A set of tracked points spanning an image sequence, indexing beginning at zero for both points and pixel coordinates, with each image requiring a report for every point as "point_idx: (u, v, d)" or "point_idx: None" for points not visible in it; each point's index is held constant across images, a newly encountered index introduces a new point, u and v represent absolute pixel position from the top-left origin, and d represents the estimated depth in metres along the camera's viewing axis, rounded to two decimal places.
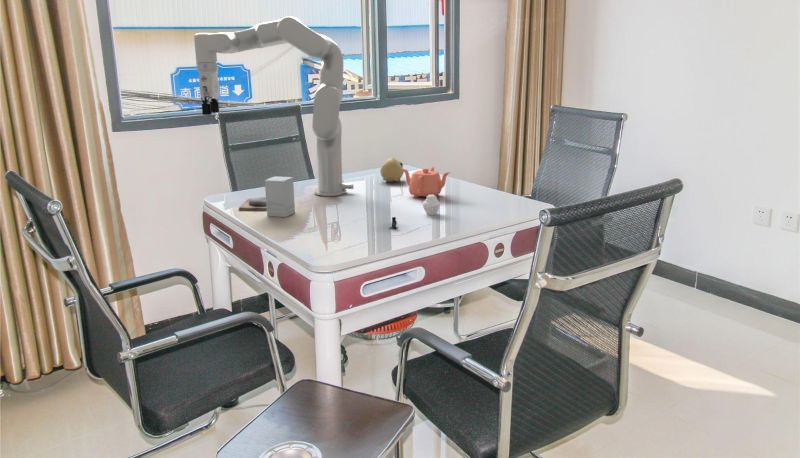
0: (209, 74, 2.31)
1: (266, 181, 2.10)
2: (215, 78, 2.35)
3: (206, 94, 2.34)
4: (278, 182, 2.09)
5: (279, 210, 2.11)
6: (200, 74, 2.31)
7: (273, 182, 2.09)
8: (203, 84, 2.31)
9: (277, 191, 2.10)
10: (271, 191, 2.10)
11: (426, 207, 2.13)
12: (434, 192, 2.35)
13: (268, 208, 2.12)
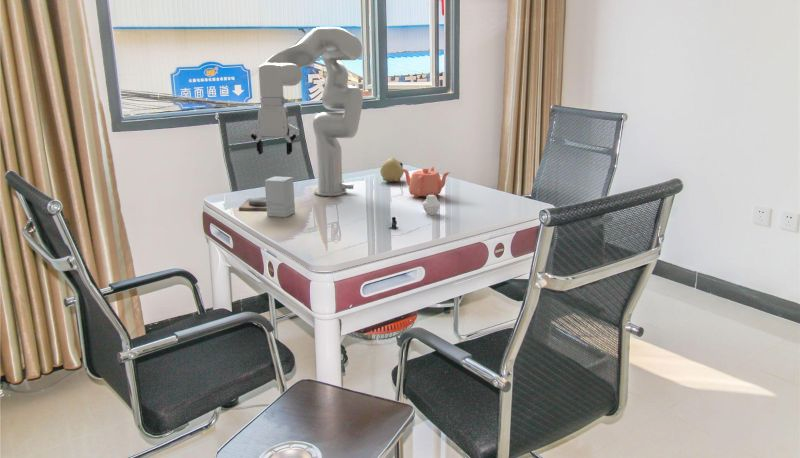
0: None
1: (266, 181, 2.10)
2: None
3: None
4: (278, 182, 2.09)
5: (279, 210, 2.11)
6: (284, 110, 2.05)
7: (273, 182, 2.09)
8: (287, 120, 2.07)
9: (277, 191, 2.10)
10: (271, 191, 2.10)
11: (426, 207, 2.13)
12: (434, 192, 2.35)
13: (268, 208, 2.12)
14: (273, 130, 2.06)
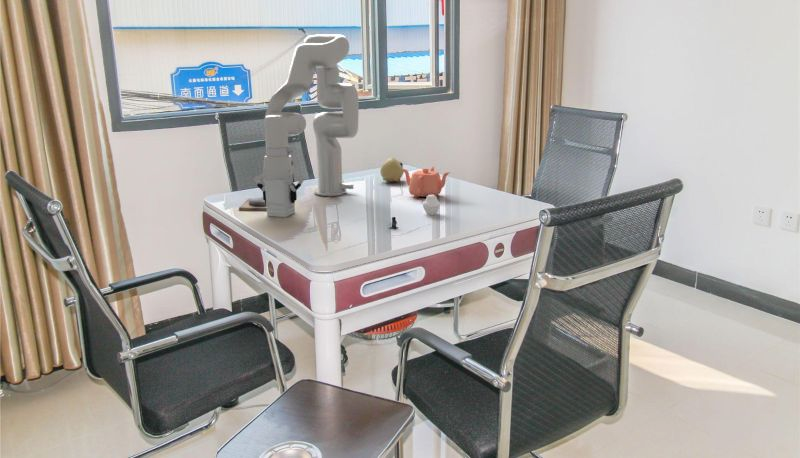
0: None
1: (266, 181, 2.10)
2: None
3: None
4: (278, 182, 2.09)
5: (279, 210, 2.11)
6: (289, 159, 2.09)
7: (273, 182, 2.09)
8: (293, 170, 2.11)
9: (277, 191, 2.10)
10: (271, 191, 2.10)
11: (426, 207, 2.13)
12: (434, 192, 2.35)
13: (268, 208, 2.12)
14: (279, 179, 2.10)
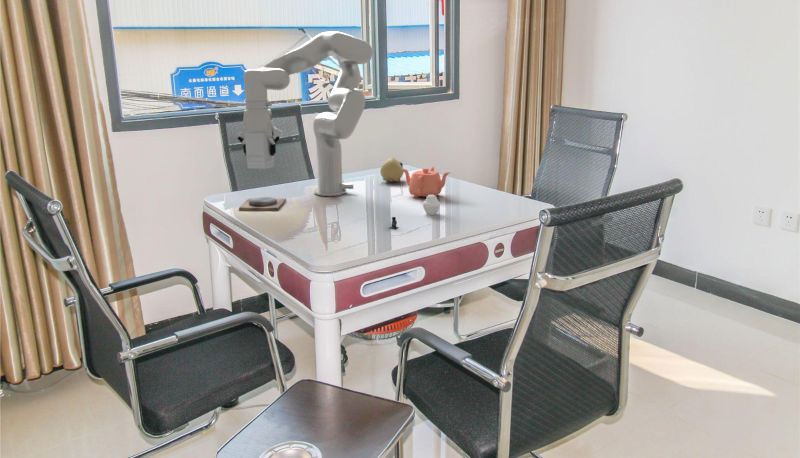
0: None
1: (246, 134, 2.18)
2: None
3: None
4: (257, 134, 2.16)
5: (259, 162, 2.19)
6: (268, 113, 2.17)
7: (253, 134, 2.17)
8: (272, 123, 2.19)
9: (256, 143, 2.17)
10: (251, 143, 2.18)
11: (426, 207, 2.13)
12: (434, 192, 2.35)
13: (248, 160, 2.20)
14: (258, 132, 2.18)
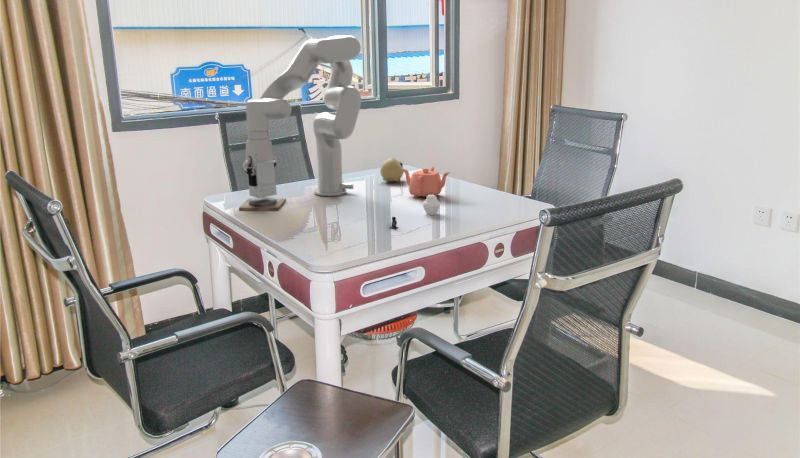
0: None
1: (258, 164, 2.19)
2: None
3: None
4: (269, 162, 2.22)
5: (271, 189, 2.24)
6: None
7: (264, 163, 2.20)
8: None
9: (268, 172, 2.22)
10: (263, 173, 2.21)
11: (426, 207, 2.13)
12: (434, 192, 2.35)
13: (261, 190, 2.21)
14: None
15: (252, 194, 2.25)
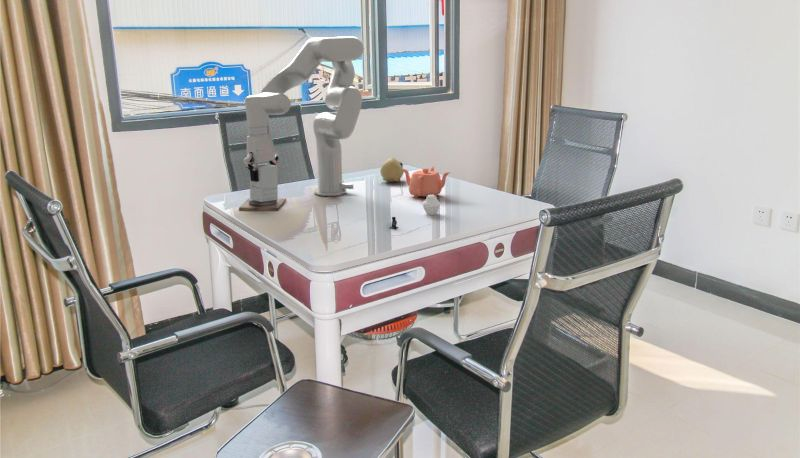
0: None
1: (262, 168, 2.19)
2: None
3: None
4: (273, 167, 2.23)
5: (272, 194, 2.25)
6: None
7: (268, 168, 2.21)
8: None
9: (271, 176, 2.23)
10: (266, 177, 2.21)
11: (426, 207, 2.13)
12: (434, 192, 2.35)
13: (262, 194, 2.22)
14: (267, 156, 2.22)
15: (253, 198, 2.25)
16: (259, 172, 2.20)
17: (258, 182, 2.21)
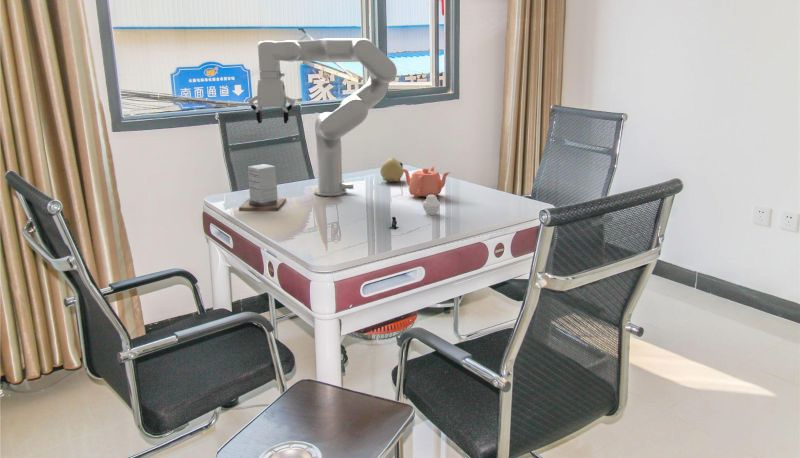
0: None
1: (260, 169, 2.19)
2: None
3: None
4: (271, 168, 2.22)
5: (272, 194, 2.25)
6: (281, 82, 2.28)
7: (267, 169, 2.21)
8: (284, 92, 2.30)
9: (270, 177, 2.23)
10: (265, 178, 2.21)
11: (426, 207, 2.13)
12: (434, 192, 2.35)
13: (262, 195, 2.22)
14: (271, 101, 2.29)
15: (253, 199, 2.25)
16: (258, 174, 2.19)
17: (257, 184, 2.21)
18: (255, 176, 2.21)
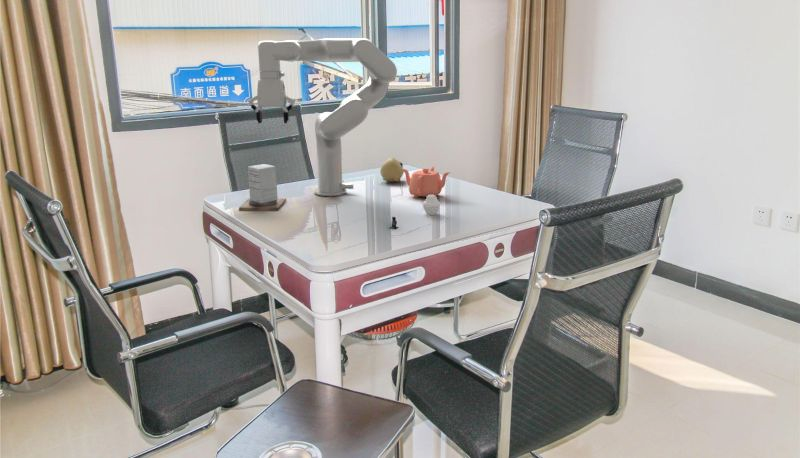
0: None
1: (260, 169, 2.19)
2: None
3: None
4: (271, 168, 2.22)
5: (272, 194, 2.25)
6: (281, 82, 2.28)
7: (267, 169, 2.21)
8: (284, 92, 2.30)
9: (270, 177, 2.23)
10: (265, 178, 2.21)
11: (426, 207, 2.13)
12: (434, 192, 2.35)
13: (262, 195, 2.22)
14: (271, 101, 2.29)
15: (253, 199, 2.25)
16: (258, 174, 2.19)
17: (257, 184, 2.21)
18: (255, 176, 2.21)
